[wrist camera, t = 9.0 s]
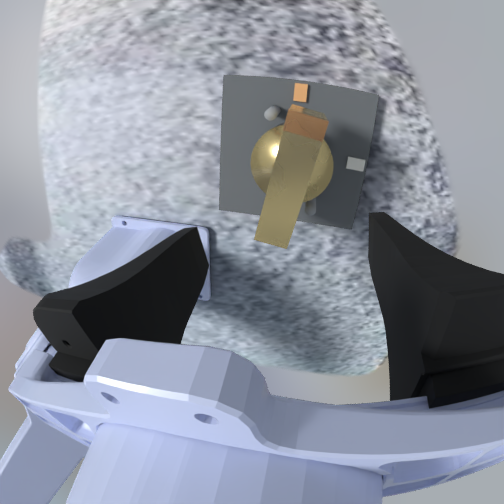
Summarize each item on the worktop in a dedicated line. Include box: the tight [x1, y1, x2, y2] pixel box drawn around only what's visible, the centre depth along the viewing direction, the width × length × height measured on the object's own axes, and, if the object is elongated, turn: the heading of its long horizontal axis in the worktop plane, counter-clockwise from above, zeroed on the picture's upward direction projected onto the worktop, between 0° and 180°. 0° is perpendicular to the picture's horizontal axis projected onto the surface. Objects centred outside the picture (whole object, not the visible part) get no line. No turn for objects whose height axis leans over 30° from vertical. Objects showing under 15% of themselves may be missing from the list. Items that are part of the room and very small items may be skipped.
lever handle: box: [250, 104, 333, 249], centre depth 15 cm, size 7×5×4 cm
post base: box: [219, 75, 379, 229], centre depth 18 cm, size 10×10×3 cm
